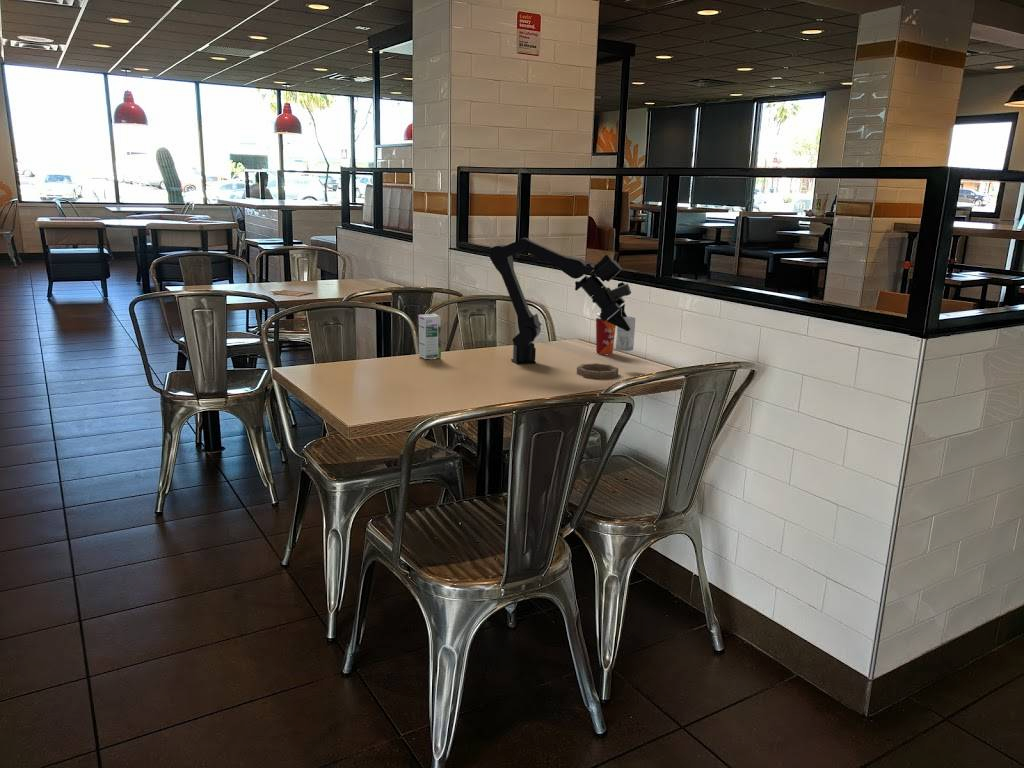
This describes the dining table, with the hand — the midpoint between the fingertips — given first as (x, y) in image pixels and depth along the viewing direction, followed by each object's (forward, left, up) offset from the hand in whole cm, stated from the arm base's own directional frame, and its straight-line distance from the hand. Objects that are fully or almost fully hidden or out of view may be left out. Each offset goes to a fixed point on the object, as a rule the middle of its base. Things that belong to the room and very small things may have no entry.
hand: (630, 328), depth 241 cm
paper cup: (+5, +25, -14) cm, 29 cm away
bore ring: (-12, -3, -13) cm, 18 cm away
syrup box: (-56, +33, -14) cm, 67 cm away
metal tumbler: (-1, +1, -7) cm, 7 cm away
